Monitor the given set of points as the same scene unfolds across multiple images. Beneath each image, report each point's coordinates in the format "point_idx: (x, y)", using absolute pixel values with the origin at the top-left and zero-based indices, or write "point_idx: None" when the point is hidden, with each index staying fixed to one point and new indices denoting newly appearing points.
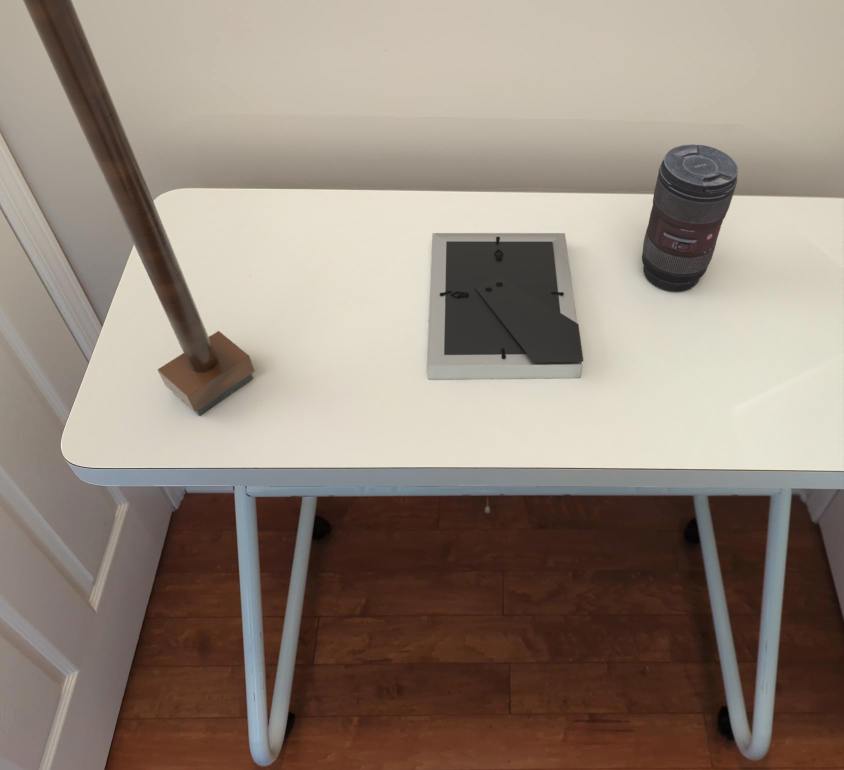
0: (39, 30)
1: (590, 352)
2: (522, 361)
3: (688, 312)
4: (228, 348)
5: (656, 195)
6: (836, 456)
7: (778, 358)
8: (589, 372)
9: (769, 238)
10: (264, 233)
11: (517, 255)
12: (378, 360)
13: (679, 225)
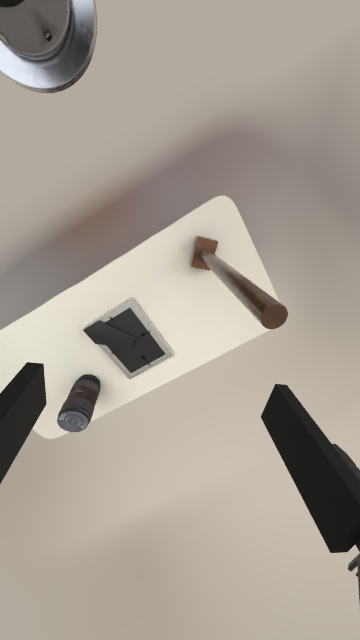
0: (261, 291)
1: None
2: (103, 319)
3: (72, 370)
4: (200, 265)
5: (87, 403)
6: None
7: None
8: None
9: None
10: (236, 324)
11: (137, 361)
12: (154, 294)
13: (75, 396)
